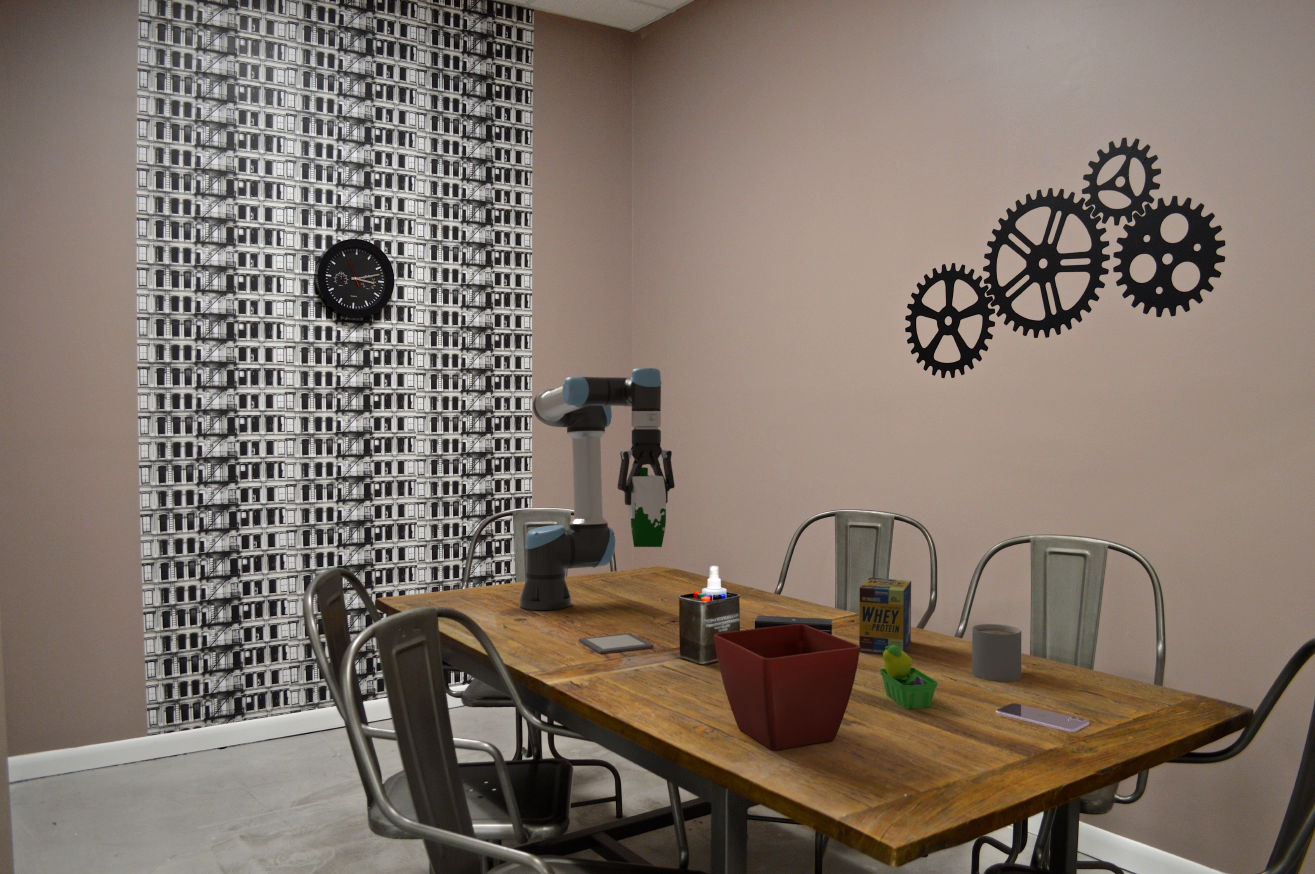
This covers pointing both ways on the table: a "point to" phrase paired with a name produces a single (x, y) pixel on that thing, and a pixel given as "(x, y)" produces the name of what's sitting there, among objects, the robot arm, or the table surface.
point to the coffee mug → (996, 652)
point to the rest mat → (615, 643)
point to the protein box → (884, 615)
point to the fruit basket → (906, 680)
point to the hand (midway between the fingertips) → (646, 516)
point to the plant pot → (787, 682)
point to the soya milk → (648, 510)
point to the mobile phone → (1043, 717)
